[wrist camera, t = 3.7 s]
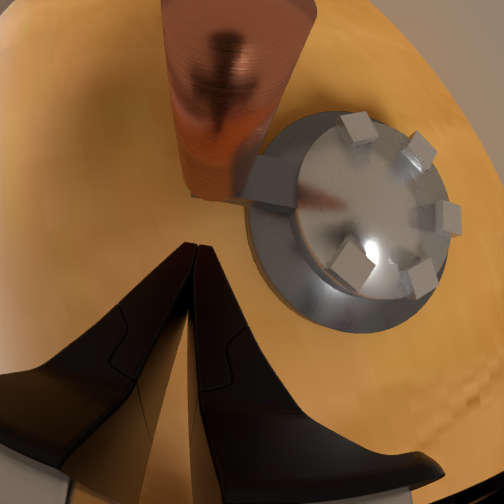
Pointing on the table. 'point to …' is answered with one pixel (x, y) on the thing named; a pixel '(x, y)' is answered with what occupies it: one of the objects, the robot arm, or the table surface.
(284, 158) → the flange base
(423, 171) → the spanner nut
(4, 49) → the table surface
